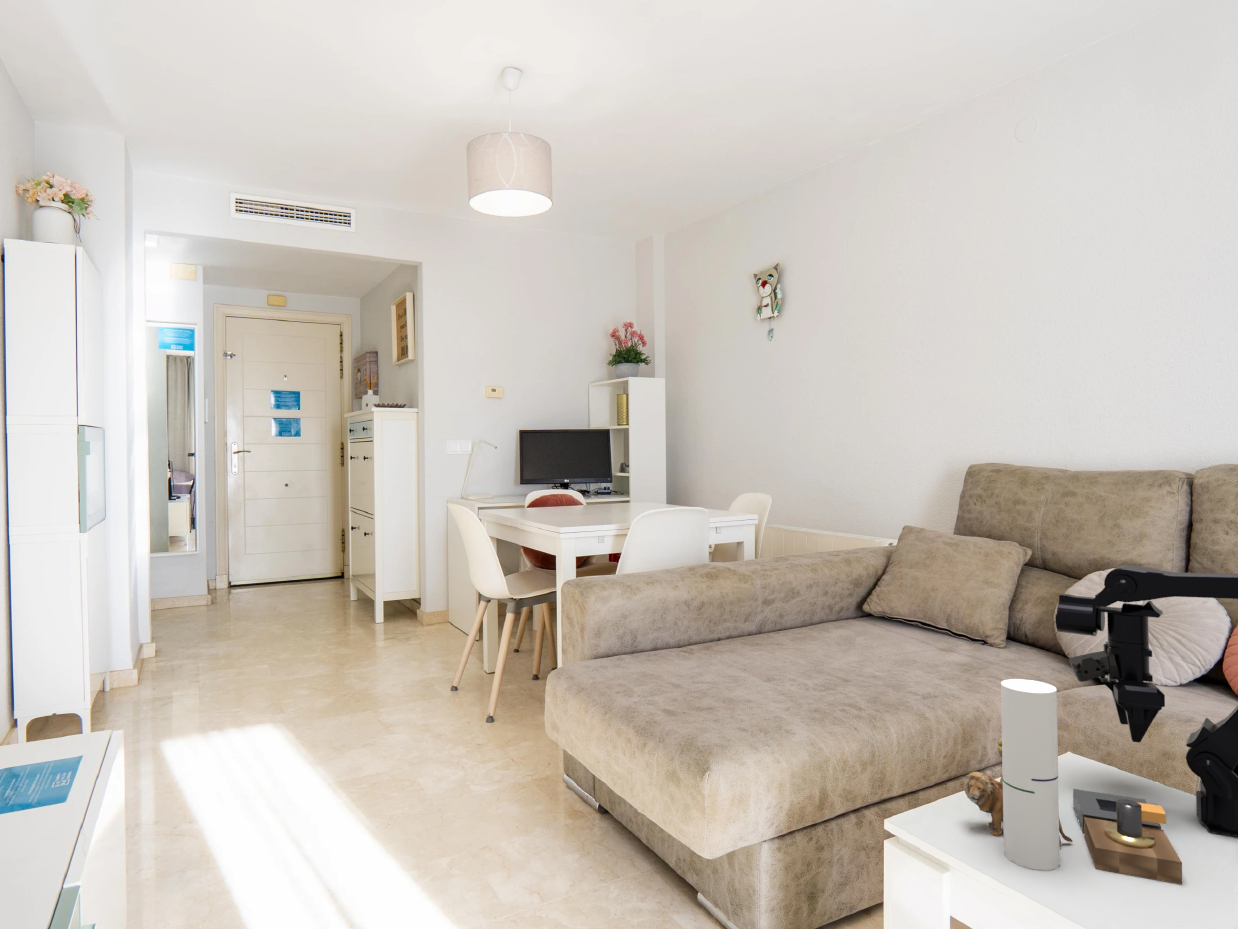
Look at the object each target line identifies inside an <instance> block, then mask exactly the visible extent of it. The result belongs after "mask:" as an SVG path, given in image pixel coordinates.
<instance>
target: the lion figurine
mask: <svg viewBox="0 0 1238 929" xmlns="http://www.w3.org/2000/svg"><path fill="white" fill-rule="evenodd" d="M964 793H965V795H966V797H967V799H968V800H969V801H970V802H972V803H973V804H975V805H977V807H978V808H979V810H980V811H982V812H984V813H986V814H990V816H991V822H988V823H987V826H988V827H989V828H991V829H992V830H991V831H990V833H991V834H992V836H994V837H999V836H1001V835H1002V832H1003V827H1002V825H1003V823H1002V822H1003V784H1002V783H1000V781H998V780H996V779H993V778H992V777H991V776H990V775H987V774H985V773H983V772H979V771H971V772H970V773H968V774H967V775H965V783H964ZM1061 838H1063V840H1064V841H1067V842H1068V843H1072V842H1073V839H1072V838H1071V837H1070V836H1068V835H1066V834H1065V832H1064V830H1063V827H1062V824H1061V820H1060V818H1059V848H1060V849H1061V847H1062V840H1061Z"/></svg>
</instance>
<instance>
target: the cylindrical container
mask: <svg viewBox="0 0 1238 929" xmlns="http://www.w3.org/2000/svg"><path fill="white" fill-rule="evenodd" d="M1057 691H1058V690H1057V687H1056V686H1054V685H1052V684H1050V683H1047V682H1043V681H1039V680H1032V679H1023V678H1010V679H1009V678H1008V679H1004V680H1001V681H1000V699H1001V701H1000V702H1001V703H1000V704H1001V737H1002V757H1001V760H1002V761H1001V762H1002V763H1001V764H1002V766H1001V767H1002V774H1003V819H1002V822H1003V823H1002V825H1003V827H1002V830H1003V854H1004V856H1005V857H1006V858H1007V859H1008V860H1009V861H1011V862H1013V863H1014V864H1017V865H1018V866H1021V867H1024V868H1027V869H1031V870H1035V871H1036V870H1037V871H1052V870H1055V869H1057V868H1059V867H1060V865H1061V861H1060V860H1061V859H1060V858H1061V857H1060V854H1061V853H1060V852H1061V850H1060V849H1061V847H1060V848H1059V835H1060V832H1059V819H1060V811H1059V810H1060V808H1059V807H1060V804H1059V803H1060V802H1059V800H1060V798H1059V752H1058V751H1059V750H1058V745H1059V743H1058V740H1059V739H1058V694H1057V693H1058V692H1057Z"/></svg>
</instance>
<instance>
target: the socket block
mask: <svg viewBox="0 0 1238 929" xmlns="http://www.w3.org/2000/svg"><path fill="white" fill-rule="evenodd" d="M1072 792H1073V793H1072V794H1073V795H1072V796H1073V797H1072V798H1073V806H1074V807H1073V810H1074V809H1075V810H1074V811H1075V812H1074V813H1075V815H1076V818H1077V820H1079V821H1078V823H1079V826H1080V828H1081V829H1080V830H1081V831H1082V834H1083V835H1084V817H1087V818H1093V819H1099V820H1106V821H1112V822H1117V812H1116V801H1117V800H1118V799H1127V800H1131V801H1135V802H1138V803H1145V804H1149V803H1148V802H1147V800H1146V799H1145V798H1138V797H1132V796H1126V795H1117V794H1111V793H1104V792H1098V791H1090V790H1083V789H1076V788H1072ZM1142 826H1144V827H1150V828H1156V829H1162V826H1161V824H1160V823H1153V822H1147V821H1142Z"/></svg>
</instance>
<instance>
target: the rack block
mask: <svg viewBox="0 0 1238 929" xmlns="http://www.w3.org/2000/svg"><path fill="white" fill-rule="evenodd" d="M1111 823H1117V822H1112V821H1106V820H1099V819H1093V818H1087V817H1084V834H1083V836H1084V840H1085V842H1086V846H1087V848H1088V851H1089V854H1090V857H1091V860H1092V862H1093V864H1094V868H1095V870H1101V871H1106V872H1111V873H1112V872H1113V873H1117V874H1121V875H1122V874H1123V875H1129V876H1134V877H1139V878H1144V879H1150V880H1156V881H1162V882H1168V883H1170V884H1171V883H1172V884H1177V885H1183V862H1182V859H1181V858H1180V856H1179V855H1178V853H1177V852H1176V850H1175V847H1174V846H1173V845H1172V842H1171V841H1170V839H1169V838H1168V835H1167V834H1166V833H1165V830H1164V829H1162V828H1161V829H1156V828H1150V827H1144V826H1142V829H1144V830H1146V831H1148V832H1149V833H1151V834H1152V835H1153V836H1154V838H1155V845H1154V846H1153V847H1151V848H1134V847H1129V846H1125V845H1122V844H1119V843H1117V842H1115V841H1113V840H1111V839H1109V838H1108V837H1107V836H1106V835H1105V826H1106V825H1107V824H1111Z"/></svg>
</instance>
